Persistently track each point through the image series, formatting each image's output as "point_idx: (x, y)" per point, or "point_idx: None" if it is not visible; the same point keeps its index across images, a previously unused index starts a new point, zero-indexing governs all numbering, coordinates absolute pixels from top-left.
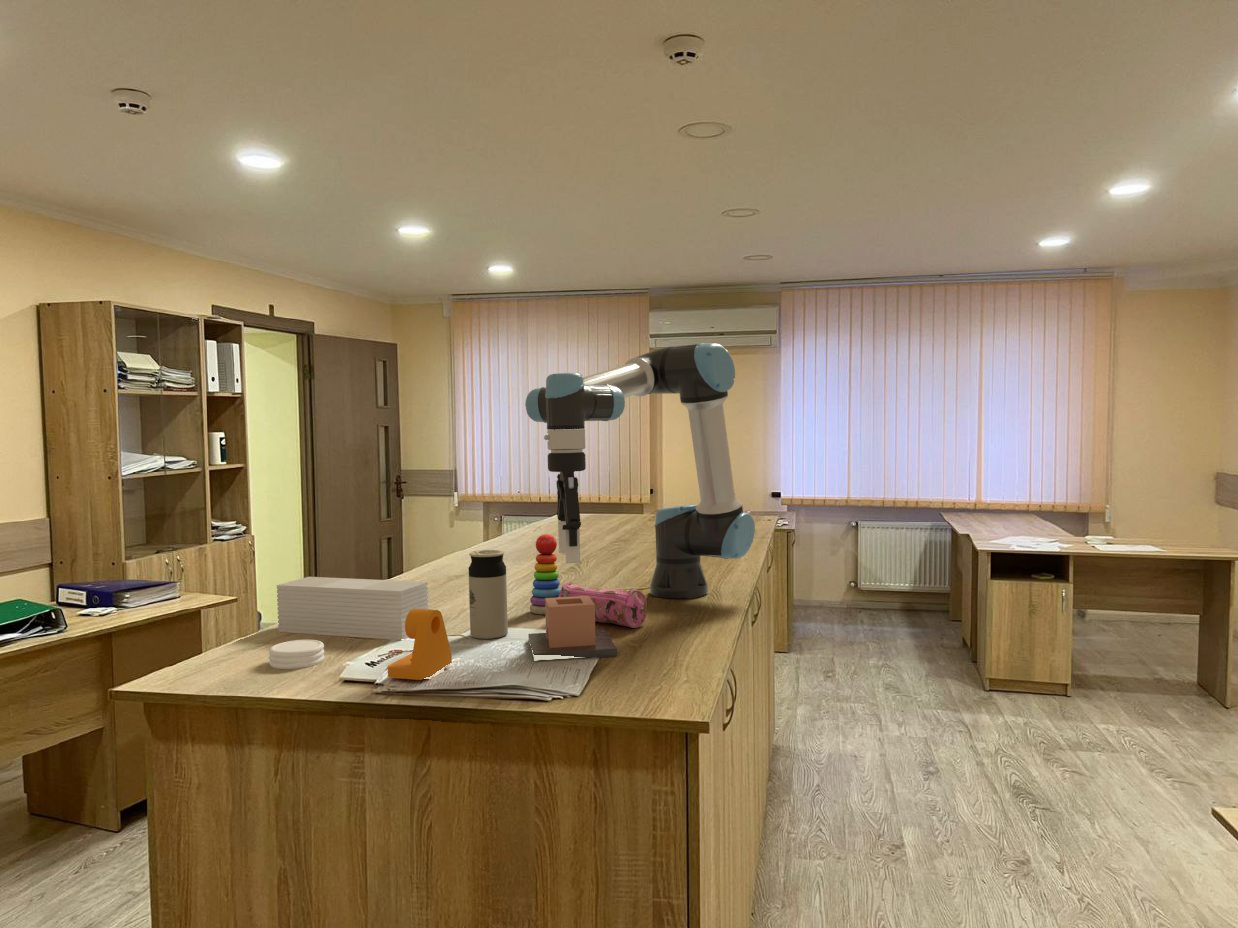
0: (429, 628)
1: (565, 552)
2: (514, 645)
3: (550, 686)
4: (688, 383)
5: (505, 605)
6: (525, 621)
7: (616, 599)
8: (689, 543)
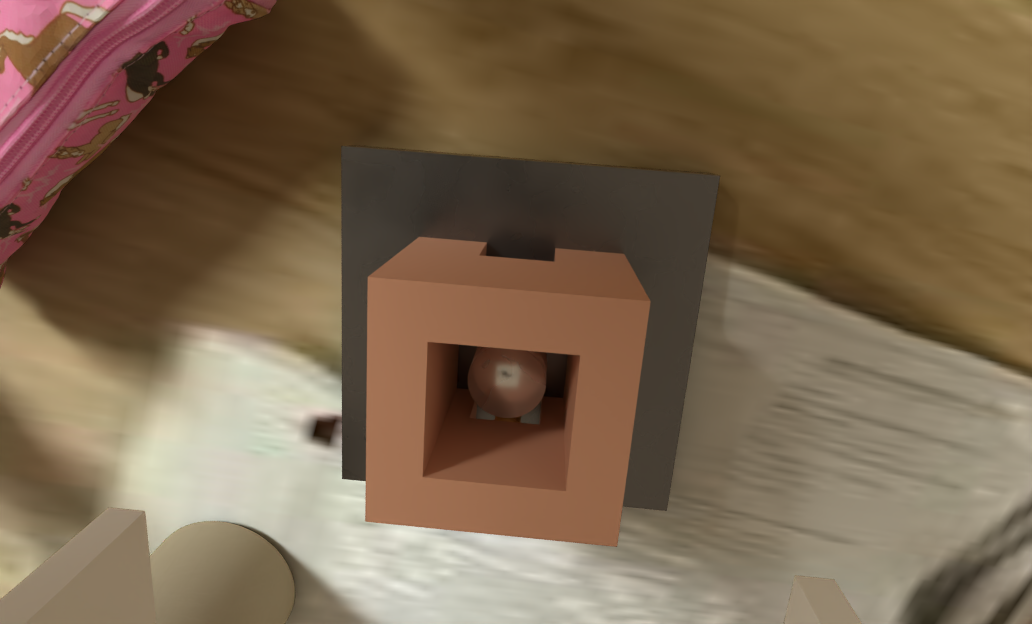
0: None
1: (150, 571)
2: None
3: (993, 493)
4: None
5: (188, 616)
6: (14, 423)
7: (155, 30)
8: None
